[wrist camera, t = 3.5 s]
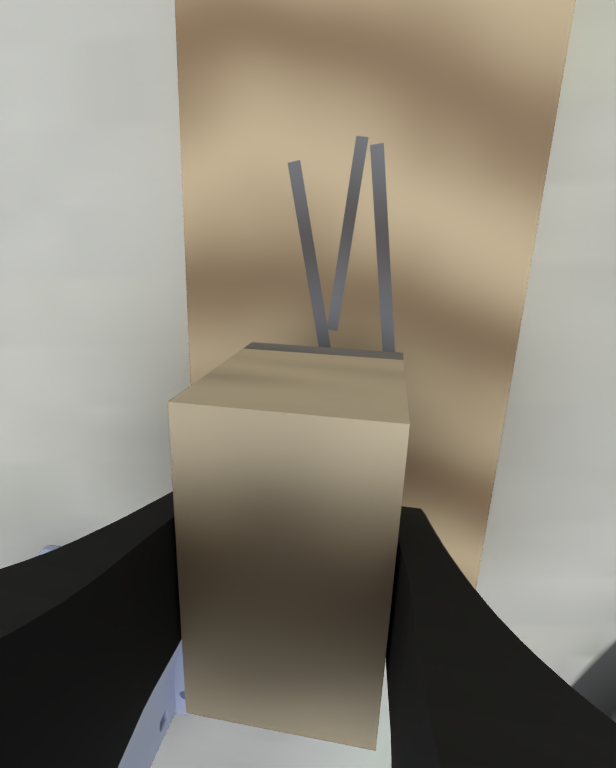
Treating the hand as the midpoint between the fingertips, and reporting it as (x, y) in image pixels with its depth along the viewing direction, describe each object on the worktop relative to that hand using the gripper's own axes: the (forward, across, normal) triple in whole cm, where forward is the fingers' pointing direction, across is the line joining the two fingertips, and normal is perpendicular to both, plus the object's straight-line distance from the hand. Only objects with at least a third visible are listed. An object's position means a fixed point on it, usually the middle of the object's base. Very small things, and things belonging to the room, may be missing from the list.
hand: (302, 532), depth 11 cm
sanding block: (+3, 0, 0) cm, 3 cm away
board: (+9, 0, -4) cm, 10 cm away
